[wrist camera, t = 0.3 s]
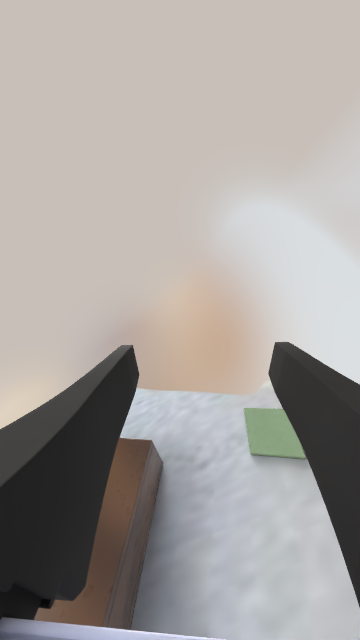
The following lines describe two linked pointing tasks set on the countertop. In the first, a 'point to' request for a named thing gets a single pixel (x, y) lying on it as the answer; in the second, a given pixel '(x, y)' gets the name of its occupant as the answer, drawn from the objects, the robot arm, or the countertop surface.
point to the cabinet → (116, 542)
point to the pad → (272, 434)
